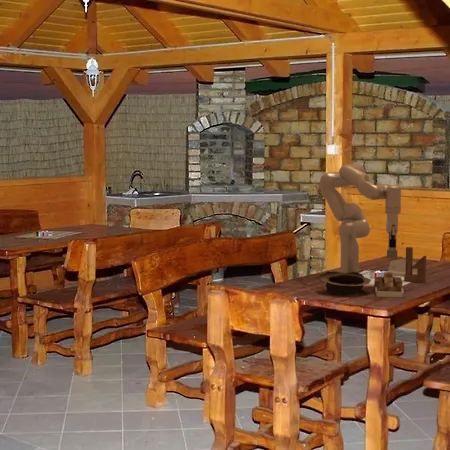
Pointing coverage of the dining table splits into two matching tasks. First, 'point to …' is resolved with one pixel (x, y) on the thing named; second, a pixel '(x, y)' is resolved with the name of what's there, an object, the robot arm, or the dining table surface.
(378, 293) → the tray
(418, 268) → the tan angled rod fixture
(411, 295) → the dining table surface
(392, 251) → the square grey bottle
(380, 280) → the groove board
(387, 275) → the oak block
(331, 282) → the stone bowl
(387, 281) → the birch block
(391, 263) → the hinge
